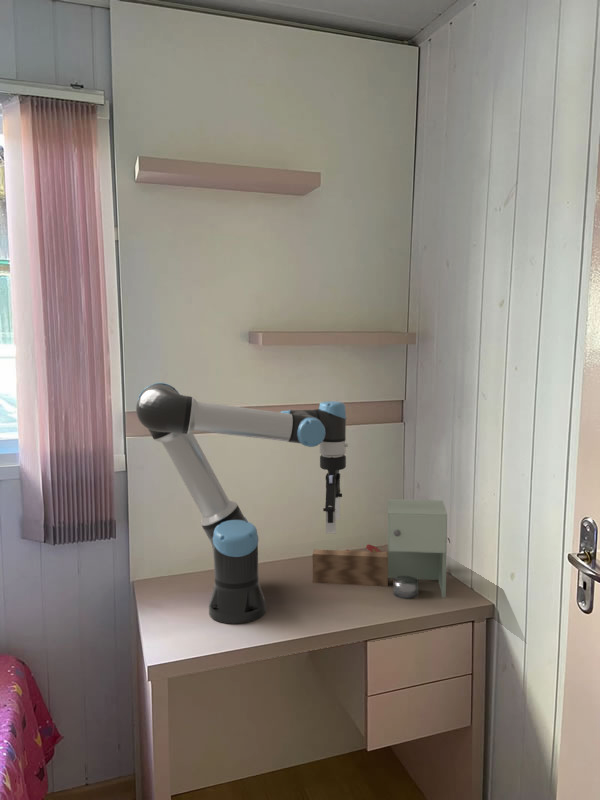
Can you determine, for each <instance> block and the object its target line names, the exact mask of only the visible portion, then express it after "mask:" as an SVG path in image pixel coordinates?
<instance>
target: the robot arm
mask: <svg viewBox="0 0 600 800" xmlns="http://www.w3.org/2000/svg"><path fill="white" fill-rule="evenodd" d="M135 407H136V408H135V410H136V412H135V413H136V416H137V418H138V421H139V422H140V423H141V425H142V426H144V427H145V428H146V429H148V432H149V433H150V435H151V436H152V439H153V441H156V442H160V443H161V444H162V445H163V447H164V449H165V450H166V453H167V454H168V457H169V459H170V460H171V461H172V463H173V465H174V467H175V468H176V471H177V472H178V474H179V476H180V478H181V480H182V481H183V483H184V485H185V486H186V489H187V491H188V492H189V494H190V496H191V498H192V499H193V501H194V503H195V505H196V506H197V509H198V510H199V512H200V514H201V518H200V526H202V529H203V531H204V533H205V534H206V536H207V538H208V539H209V542H210V544H211V547H212V552H213V564H214V565H213V568H214V586H213V590H212V593H211V596H210V601H209V603H208V614H209V617H210V618H212V620H214V621H216V622H220V623H225V624H244V623H249V622H253V621H256V620H258V619H259V618H261V617H262V616H263V615H264V614H265V613H266V599H265V597H264V594H263V591H262V587H261V585H260V582H259V545H258V544H259V535H258V529H257V527H256V526H255V525H254V524H253V523H252V522H250V521H248V519H247V518H246V516H244V514H243V512H242V510H241V509H240V507H239V505H238V503H237V502H236V501H233V500H229V497H228V496H227V493H226V491H225V490H224V488H223V486H222V484H221V483H220V481H219V479H218V477H217V475H216V474H215V472H214V470H213V468H212V466H211V464H210V462H209V461H208V458H207V457H206V455H205V453H204V451H203V449H202V447H201V445H200V444H199V442H198V440H197V438H196V437H195V434H194V433H193V432H194V431H195V432H200V433H202V432H203V433H211V434H219V435H226V436H227V435H228V436H235V437H236V436H238V437H246V438H254V439H261V440H262V439H263V440H269V441H271V440H272V441H280V442H287V443H294V444H300V445H303V446H304V447H308V448H309V447H310V448H314V447H317V446H319V454H320V455H319V467H320V468H321V469H322V470H324V471H325V470H327V473H326V475H325V506H324V508H323V512H325V534H333V535H334V534H337V533H336V532H337V529H336V527H337V522H336V521H337V520H340V519H341V498H343V493H341V482H340V481H341V473H340V471H341V470H344V469H346V467H347V465H346V464H347V457H346V455H345V454H346V451H347V449H346V448H347V447H348V446H349V444H348V443H346V441H347V440H346V431H347V428H346V426H347V417H346V415H347V414H346V413H347V412H346V405H345V403H344V402H342V401H337V400H336V401H335V400H329V401H328V400H327V401H322V402H320V403H319V407H318V408H316V409H289V410H281V411H272V410H271V411H270V410H264V409H257V408H251V407H250V408H247V407H242V406H236V405H235V406H234V405H227V404H226V405H225V404H221V403H219V404H218V403H211V402H203V401H197V400H196V398H195V397H194V396H188V395H183V394H180V393H179V391H178V390H177V389H176V388H175V387H174V386H172V385H170V384H169V383H163V382H157V383H156V382H155V383H153V384H150V385H148V386H147V387H145V388H143V390H142V391H141V392H140V393H139V395H138V399H137V402H136V406H135Z"/></svg>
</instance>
